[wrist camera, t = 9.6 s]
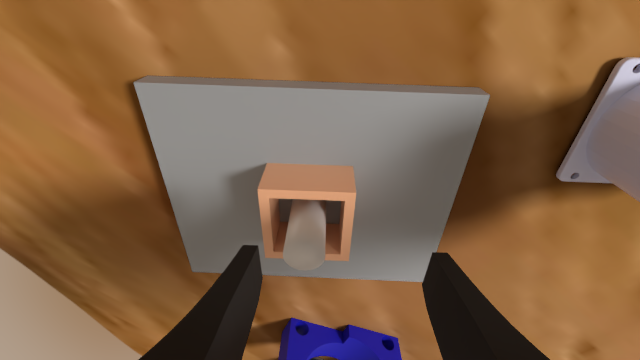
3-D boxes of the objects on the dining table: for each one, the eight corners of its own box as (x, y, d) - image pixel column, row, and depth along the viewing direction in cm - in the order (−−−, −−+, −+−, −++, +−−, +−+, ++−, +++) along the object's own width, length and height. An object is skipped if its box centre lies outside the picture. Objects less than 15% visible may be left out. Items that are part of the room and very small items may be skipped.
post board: (478, 87, 18) (544, 131, 12) (421, 268, 26) (445, 340, 21) (147, 75, 18) (66, 113, 12) (199, 258, 27) (164, 328, 21)
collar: (352, 166, 19) (356, 192, 17) (346, 230, 22) (348, 261, 20) (267, 162, 19) (257, 189, 17) (272, 227, 22) (265, 257, 20)
